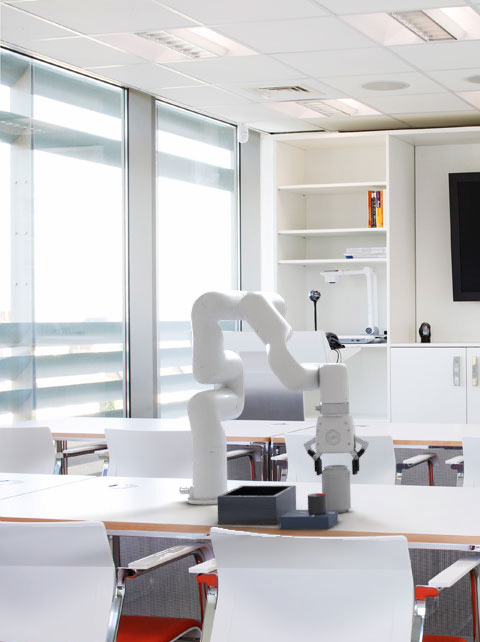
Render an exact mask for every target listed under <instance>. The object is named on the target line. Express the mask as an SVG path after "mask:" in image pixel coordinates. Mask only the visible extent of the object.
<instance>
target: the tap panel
mask: <svg viewBox="0 0 480 642" xmlns="http://www.w3.org/2000/svg"><path fill="white" fill-rule="evenodd" d="M338 522H339V513H338V510H326V513H325V514H320V515H311V514H308V509H296V510H290V511H288V512H287V513H285V514H284V515H282V516H280V523H279V528H280V530H330V529H331V528H332V527H333V526H335V525H336V524H337V523H338Z"/></svg>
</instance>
